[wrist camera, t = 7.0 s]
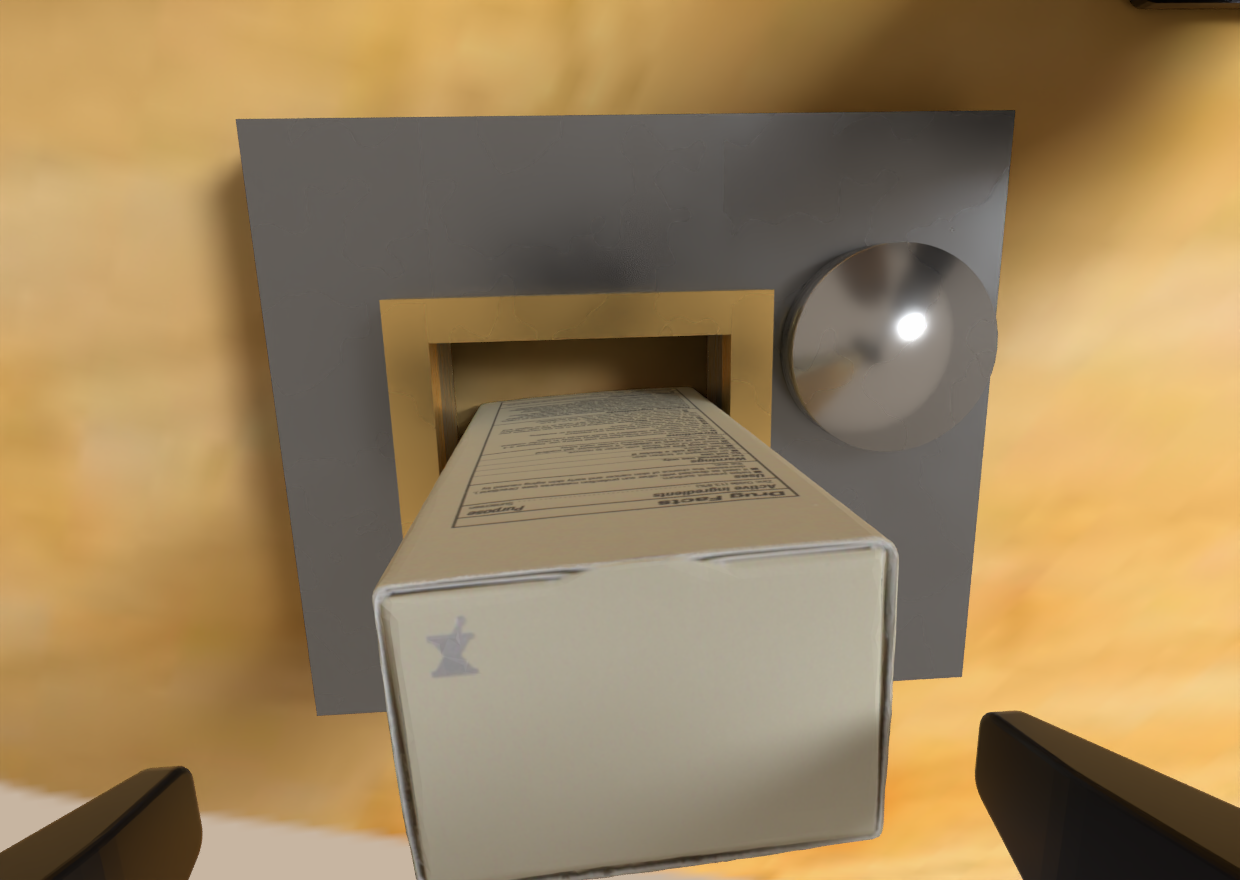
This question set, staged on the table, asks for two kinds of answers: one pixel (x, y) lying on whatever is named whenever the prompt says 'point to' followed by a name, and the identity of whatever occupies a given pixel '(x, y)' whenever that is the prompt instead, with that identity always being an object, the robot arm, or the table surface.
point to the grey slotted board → (632, 316)
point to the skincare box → (632, 647)
